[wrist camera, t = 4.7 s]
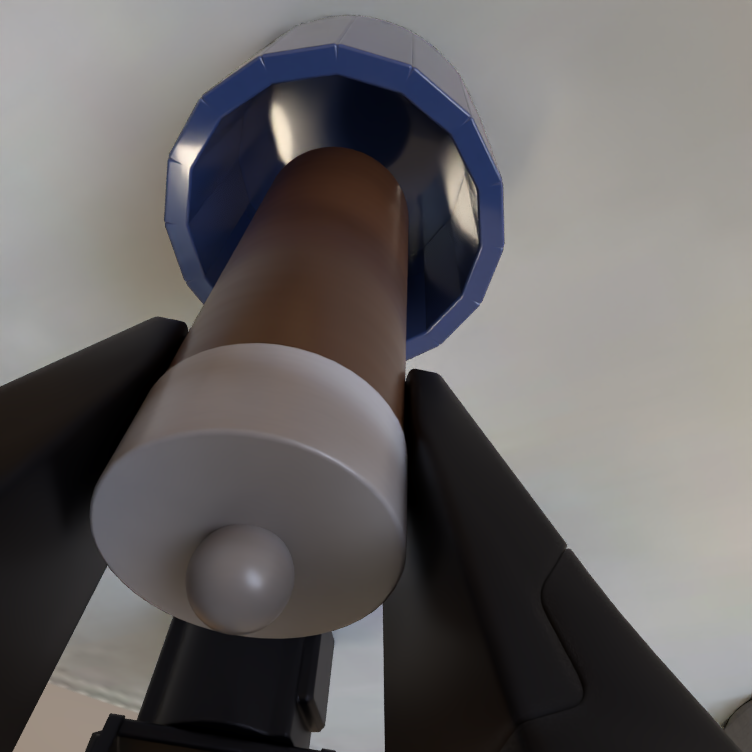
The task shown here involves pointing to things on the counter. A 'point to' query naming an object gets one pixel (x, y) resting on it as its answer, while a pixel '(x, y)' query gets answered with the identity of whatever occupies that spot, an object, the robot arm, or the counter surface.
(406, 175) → the holder cup
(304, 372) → the pepper mill
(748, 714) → the coffeepot
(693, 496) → the counter surface
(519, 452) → the counter surface
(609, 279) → the counter surface
